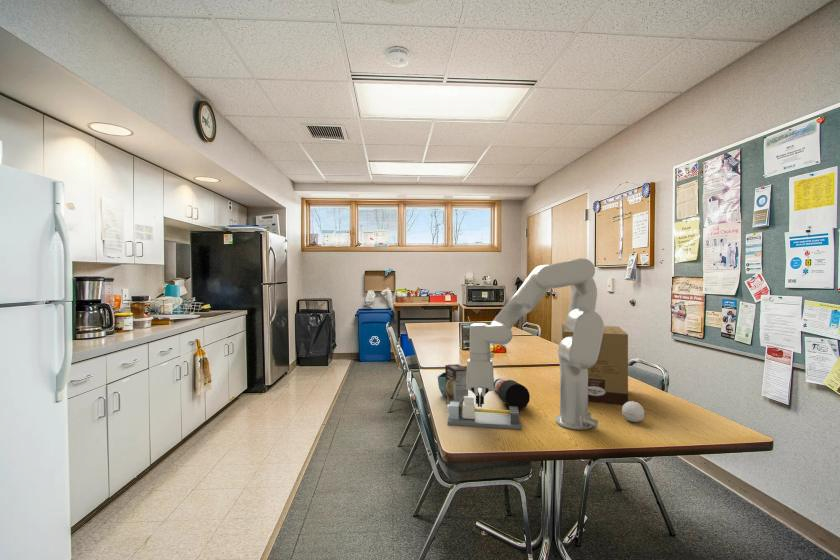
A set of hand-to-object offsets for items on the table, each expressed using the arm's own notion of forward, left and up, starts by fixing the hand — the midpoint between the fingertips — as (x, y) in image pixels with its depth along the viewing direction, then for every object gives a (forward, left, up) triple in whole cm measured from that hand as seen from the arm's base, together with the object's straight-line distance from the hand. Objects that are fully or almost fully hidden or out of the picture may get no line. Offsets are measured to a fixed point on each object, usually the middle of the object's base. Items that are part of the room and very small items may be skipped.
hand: (479, 405), depth 137 cm
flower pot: (+30, -11, -6) cm, 33 cm away
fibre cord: (-2, -2, -2) cm, 4 cm away
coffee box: (+18, -5, -6) cm, 20 cm away
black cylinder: (+13, -28, -6) cm, 31 cm away
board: (-1, -1, -6) cm, 6 cm away
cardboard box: (-7, -65, -6) cm, 65 cm away
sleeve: (+3, +3, -4) cm, 6 cm away
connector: (+7, +7, -5) cm, 11 cm away
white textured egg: (-35, -46, -6) cm, 57 cm away
